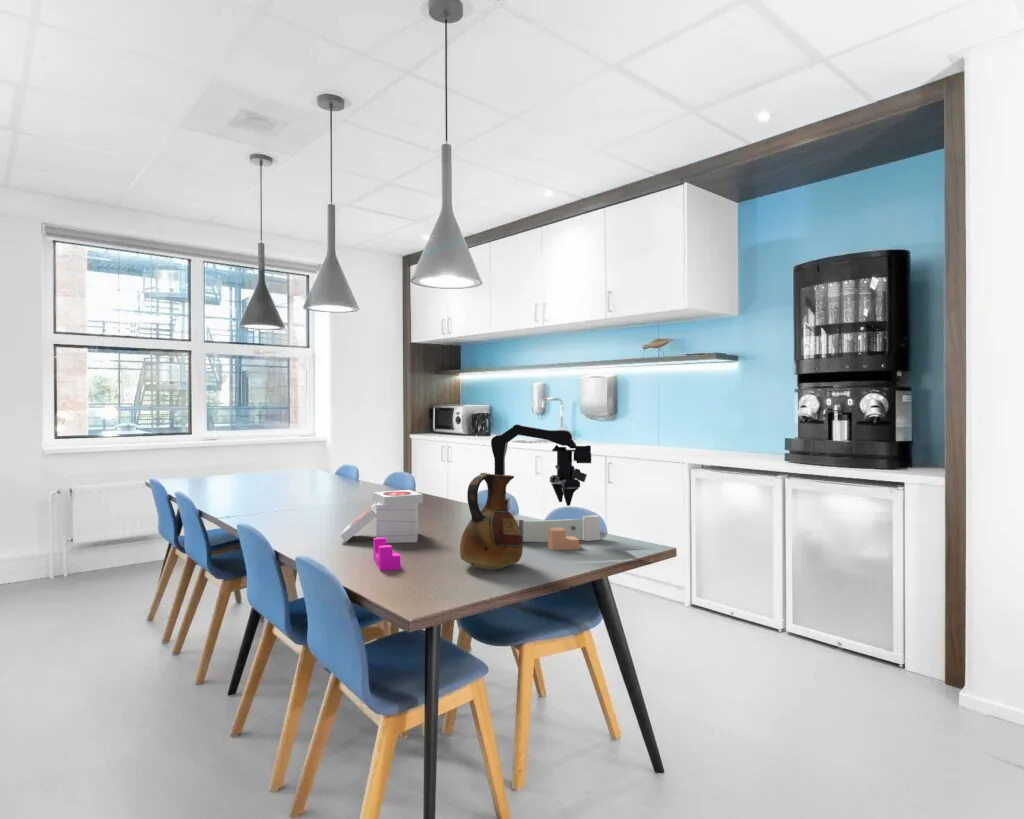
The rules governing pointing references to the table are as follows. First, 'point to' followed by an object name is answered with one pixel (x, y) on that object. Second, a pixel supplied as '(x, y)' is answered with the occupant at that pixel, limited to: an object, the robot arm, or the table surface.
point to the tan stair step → (561, 540)
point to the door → (539, 529)
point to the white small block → (588, 527)
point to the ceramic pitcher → (491, 527)
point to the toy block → (385, 555)
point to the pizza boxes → (390, 516)
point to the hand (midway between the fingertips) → (564, 503)
